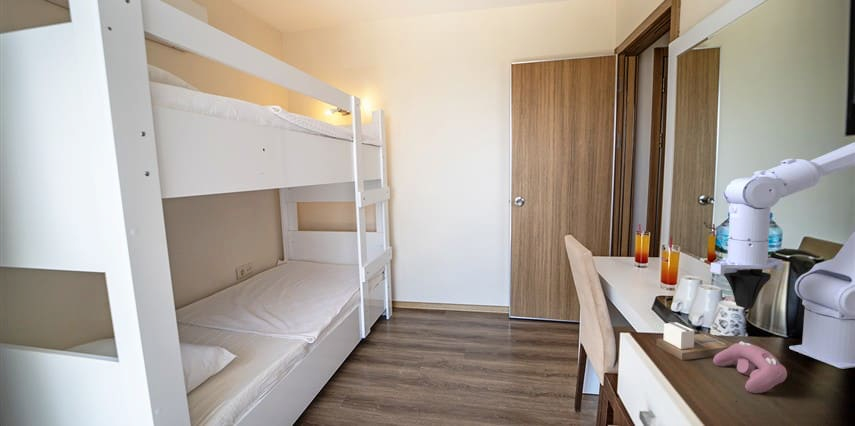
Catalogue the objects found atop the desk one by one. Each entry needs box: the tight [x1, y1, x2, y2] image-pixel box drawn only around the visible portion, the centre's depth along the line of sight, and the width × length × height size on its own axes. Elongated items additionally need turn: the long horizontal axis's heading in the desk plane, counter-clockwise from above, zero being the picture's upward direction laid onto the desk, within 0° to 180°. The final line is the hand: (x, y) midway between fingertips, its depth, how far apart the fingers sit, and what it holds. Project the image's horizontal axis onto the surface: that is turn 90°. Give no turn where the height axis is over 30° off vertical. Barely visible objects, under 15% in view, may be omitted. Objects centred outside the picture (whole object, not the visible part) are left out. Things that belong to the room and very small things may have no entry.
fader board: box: [655, 332, 734, 361], centre depth 70 cm, size 13×6×2 cm, turn 100°
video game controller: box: [712, 341, 788, 394], centre depth 59 cm, size 10×5×7 cm, turn 169°
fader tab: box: [663, 321, 696, 349], centre depth 69 cm, size 3×4×4 cm
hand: (744, 306), depth 68 cm, fingers closed
